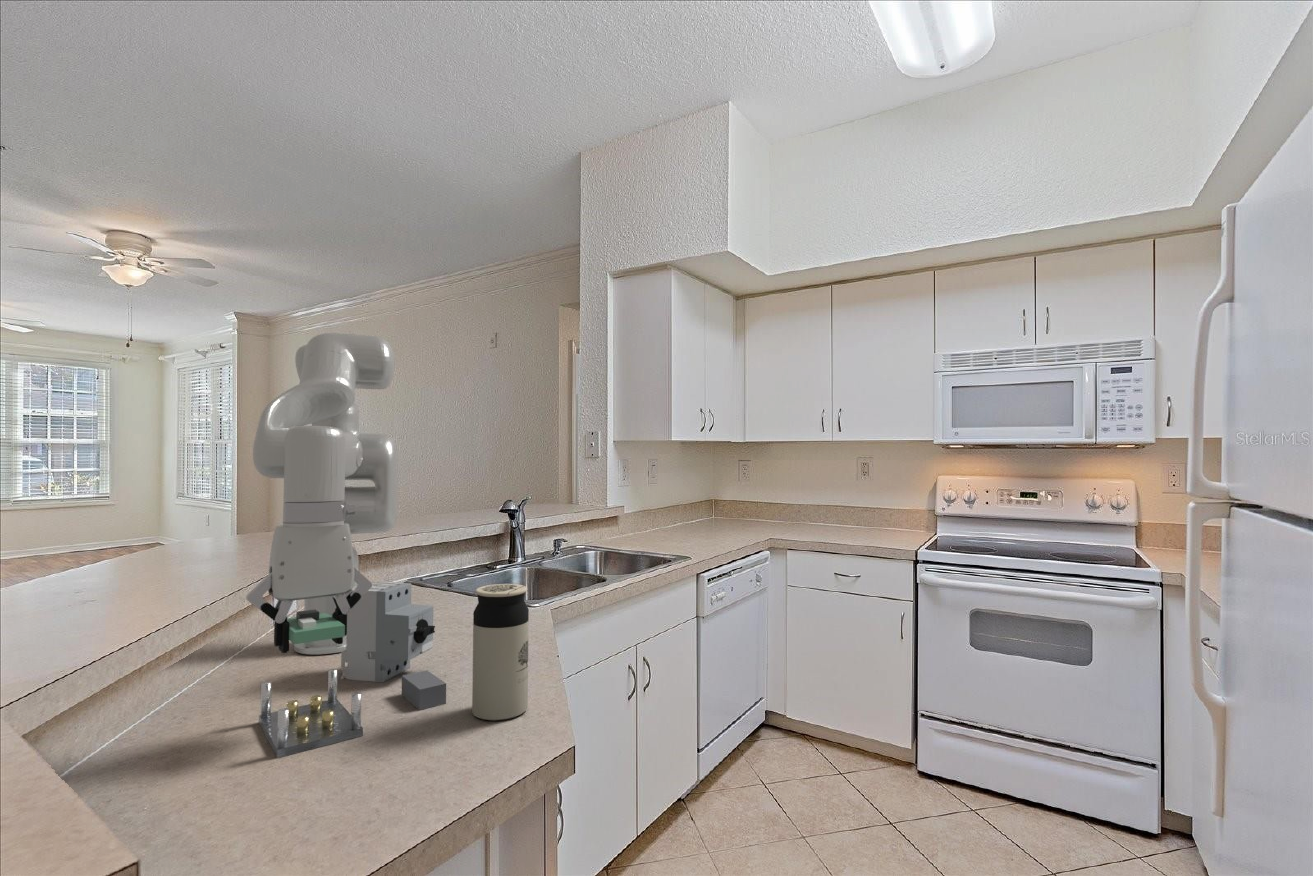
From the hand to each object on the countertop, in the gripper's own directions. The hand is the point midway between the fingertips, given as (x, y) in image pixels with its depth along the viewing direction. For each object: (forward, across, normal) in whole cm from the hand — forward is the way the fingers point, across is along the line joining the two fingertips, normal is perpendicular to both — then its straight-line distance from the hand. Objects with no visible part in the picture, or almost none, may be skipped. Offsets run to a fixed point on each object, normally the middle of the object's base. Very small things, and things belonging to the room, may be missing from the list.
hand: (311, 645), depth 87 cm
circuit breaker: (+11, -16, -17) cm, 26 cm away
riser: (+11, -16, -2) cm, 20 cm away
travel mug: (+12, -23, +10) cm, 28 cm away
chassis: (+12, 0, -1) cm, 12 cm away
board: (-2, 0, 0) cm, 2 cm away
